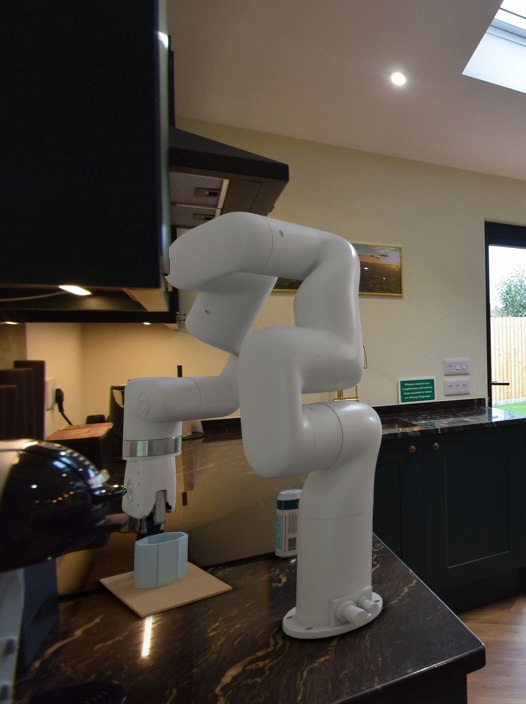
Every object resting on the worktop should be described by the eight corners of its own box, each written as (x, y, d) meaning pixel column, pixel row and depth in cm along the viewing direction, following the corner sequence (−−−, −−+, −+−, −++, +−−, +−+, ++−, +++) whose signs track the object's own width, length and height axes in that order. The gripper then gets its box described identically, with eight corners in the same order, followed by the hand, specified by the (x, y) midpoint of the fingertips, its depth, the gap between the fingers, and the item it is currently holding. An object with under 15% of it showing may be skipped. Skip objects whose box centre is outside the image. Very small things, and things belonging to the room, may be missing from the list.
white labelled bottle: (311, 550, 103) (312, 488, 103) (292, 559, 98) (294, 495, 98) (288, 549, 103) (290, 487, 103) (269, 558, 98) (270, 494, 99)
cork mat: (232, 589, 85) (232, 587, 85) (141, 618, 76) (141, 615, 76) (183, 560, 97) (183, 558, 97) (99, 581, 88) (99, 579, 88)
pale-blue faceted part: (141, 591, 83) (121, 575, 89) (190, 578, 88) (168, 563, 95) (143, 547, 83) (122, 534, 90) (192, 536, 89) (169, 524, 95)
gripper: (110, 446, 92) (107, 551, 92) (137, 456, 84) (133, 571, 84) (166, 440, 98) (162, 538, 98) (196, 449, 90) (192, 556, 90)
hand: (149, 553), depth 91 cm, fingers closed
